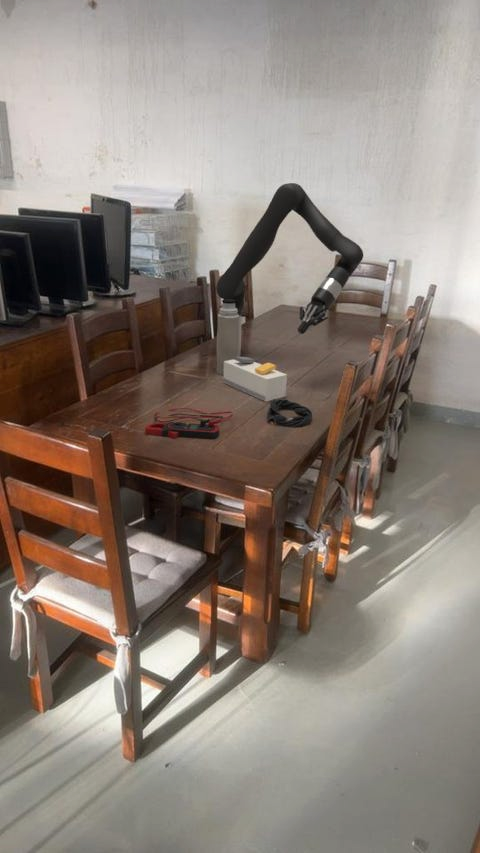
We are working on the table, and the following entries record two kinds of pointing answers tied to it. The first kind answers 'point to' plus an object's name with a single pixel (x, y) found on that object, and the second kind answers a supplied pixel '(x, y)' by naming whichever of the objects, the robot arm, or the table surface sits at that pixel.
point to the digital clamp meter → (187, 426)
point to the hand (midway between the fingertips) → (300, 332)
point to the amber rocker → (265, 368)
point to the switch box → (255, 380)
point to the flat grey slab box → (244, 359)
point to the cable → (286, 404)
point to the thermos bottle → (227, 334)
